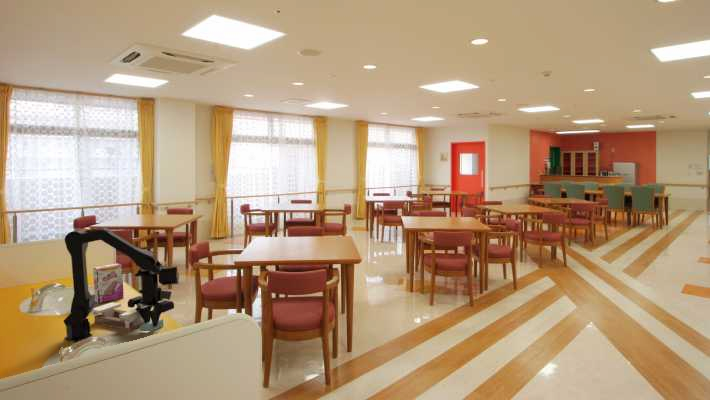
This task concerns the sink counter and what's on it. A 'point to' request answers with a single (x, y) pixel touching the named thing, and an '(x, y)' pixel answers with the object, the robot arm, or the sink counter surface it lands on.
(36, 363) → the sink counter surface
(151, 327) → the teal rectangular block
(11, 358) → the sink counter surface
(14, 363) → the sink counter surface
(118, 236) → the robot arm
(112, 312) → the sliding cap
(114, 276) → the candy bar box
